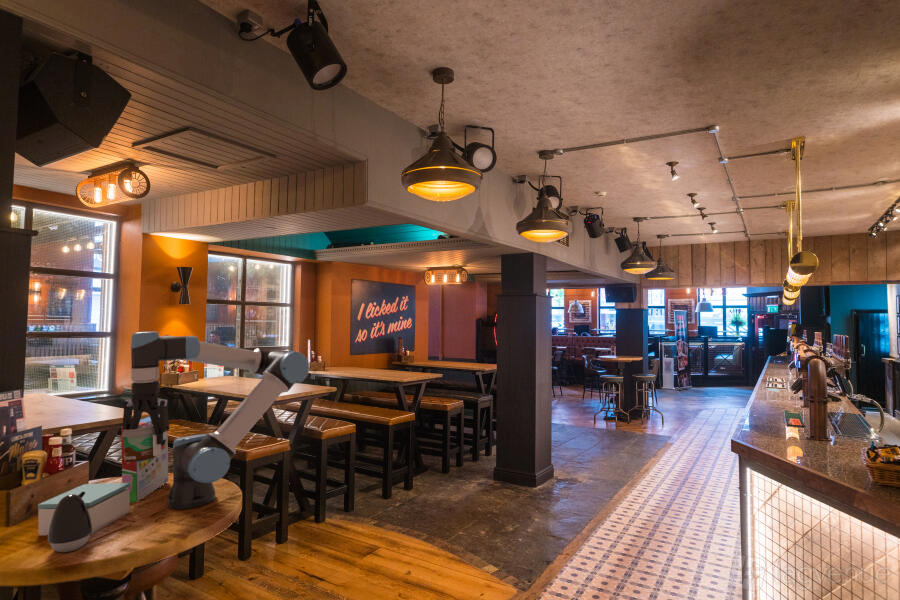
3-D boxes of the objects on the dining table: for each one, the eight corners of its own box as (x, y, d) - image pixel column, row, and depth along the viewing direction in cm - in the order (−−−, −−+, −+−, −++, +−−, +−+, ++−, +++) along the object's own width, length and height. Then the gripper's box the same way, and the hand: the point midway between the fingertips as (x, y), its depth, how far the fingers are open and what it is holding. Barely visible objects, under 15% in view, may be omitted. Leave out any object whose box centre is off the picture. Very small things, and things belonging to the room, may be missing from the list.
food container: (139, 464, 154) (139, 430, 154) (121, 463, 155) (121, 430, 155) (169, 452, 166) (169, 421, 166) (153, 452, 167) (152, 421, 167)
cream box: (129, 512, 173) (129, 488, 173) (88, 535, 155) (88, 509, 155) (84, 512, 174) (84, 488, 174) (38, 535, 156) (38, 508, 156)
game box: (155, 483, 203) (154, 414, 203) (169, 483, 203) (168, 414, 203) (121, 503, 182) (120, 426, 182) (136, 502, 182) (136, 425, 182)
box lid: (130, 486, 173) (130, 482, 173) (89, 506, 155) (89, 502, 155) (84, 487, 174) (84, 484, 174) (37, 508, 156) (37, 504, 156)
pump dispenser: (101, 539, 152) (100, 488, 152) (74, 556, 141) (73, 501, 142) (67, 540, 152) (67, 488, 153) (38, 556, 142) (38, 501, 142)
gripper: (182, 378, 164) (182, 451, 164) (124, 379, 165) (124, 451, 165) (167, 382, 157) (168, 458, 156) (107, 383, 158) (107, 458, 157)
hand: (146, 454), depth 160 cm, fingers closed on food container, 6 cm apart
